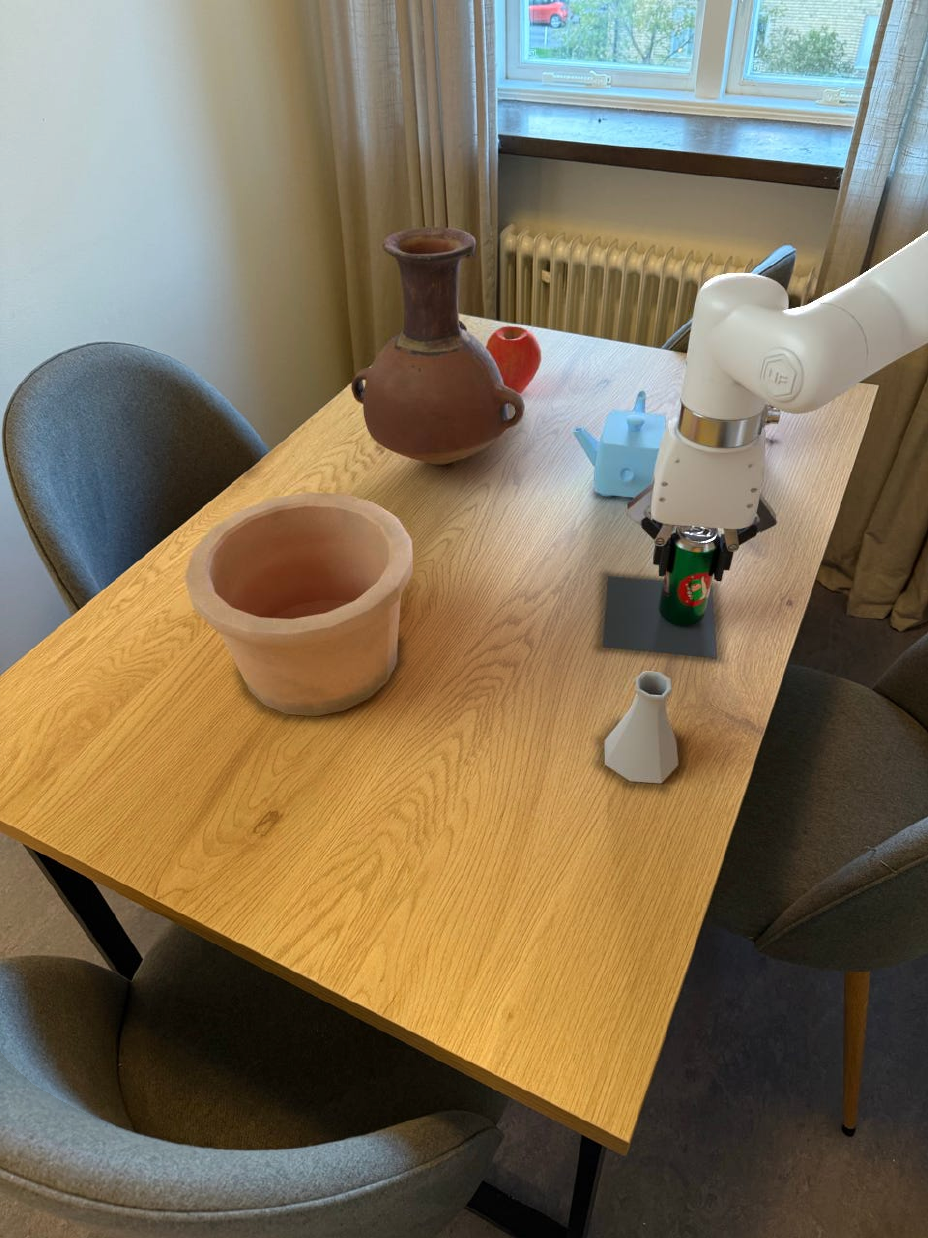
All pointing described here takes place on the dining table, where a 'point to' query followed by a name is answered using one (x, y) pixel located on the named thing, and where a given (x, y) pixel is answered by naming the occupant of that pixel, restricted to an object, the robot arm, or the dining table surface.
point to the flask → (644, 734)
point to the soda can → (689, 574)
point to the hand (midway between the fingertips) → (689, 569)
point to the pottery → (306, 597)
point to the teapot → (624, 450)
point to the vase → (434, 361)
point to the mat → (652, 621)
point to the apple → (515, 356)
